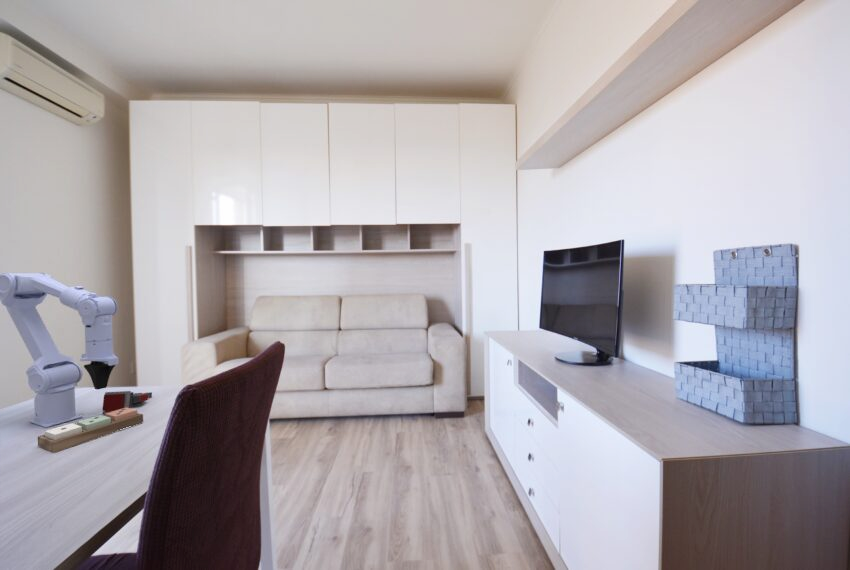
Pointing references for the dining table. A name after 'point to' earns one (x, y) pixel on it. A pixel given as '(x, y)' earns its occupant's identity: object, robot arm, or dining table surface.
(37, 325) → the robot arm
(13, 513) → the dining table surface
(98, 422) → the sage tile
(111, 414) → the terracotta tile
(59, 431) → the cream tile
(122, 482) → the dining table surface
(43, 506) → the dining table surface
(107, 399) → the toy
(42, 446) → the board
